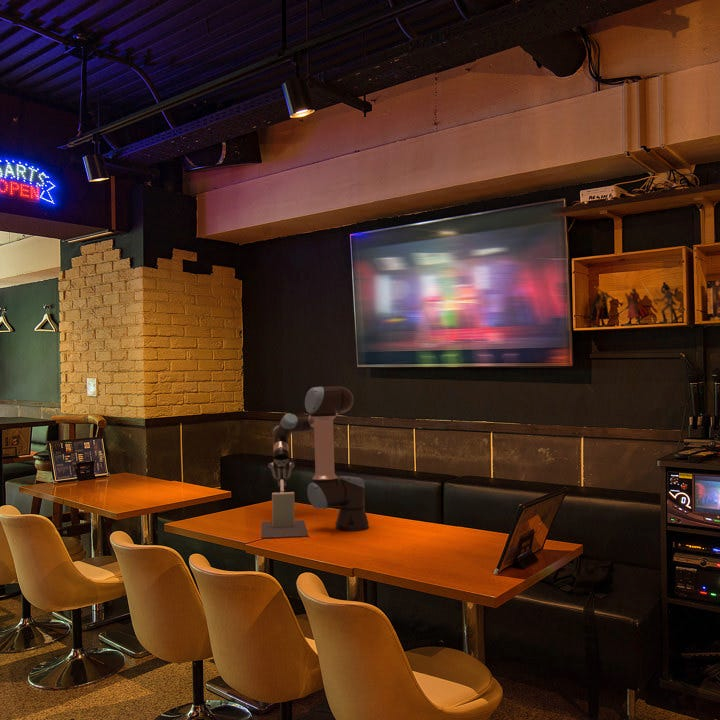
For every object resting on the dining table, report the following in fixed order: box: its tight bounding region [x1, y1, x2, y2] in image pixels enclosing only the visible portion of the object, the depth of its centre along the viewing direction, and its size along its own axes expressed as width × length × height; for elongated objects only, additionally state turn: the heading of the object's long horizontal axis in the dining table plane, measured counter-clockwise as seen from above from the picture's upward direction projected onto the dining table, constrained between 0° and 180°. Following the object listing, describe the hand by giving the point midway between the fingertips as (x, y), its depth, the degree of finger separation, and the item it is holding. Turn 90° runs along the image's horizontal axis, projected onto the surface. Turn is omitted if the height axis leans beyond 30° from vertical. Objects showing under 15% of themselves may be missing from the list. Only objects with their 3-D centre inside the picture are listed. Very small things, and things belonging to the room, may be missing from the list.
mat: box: [260, 519, 309, 540], centre depth 307 cm, size 30×20×1 cm, turn 8°
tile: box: [271, 491, 295, 527], centre depth 312 cm, size 3×10×15 cm, turn 98°
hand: (282, 492), depth 320 cm, fingers closed
